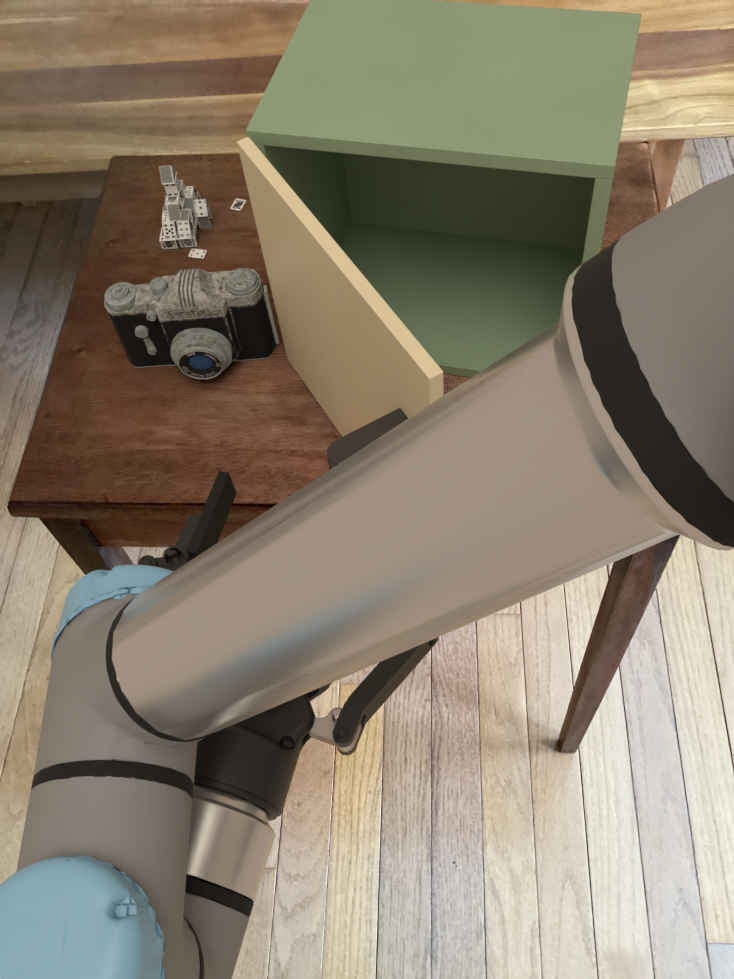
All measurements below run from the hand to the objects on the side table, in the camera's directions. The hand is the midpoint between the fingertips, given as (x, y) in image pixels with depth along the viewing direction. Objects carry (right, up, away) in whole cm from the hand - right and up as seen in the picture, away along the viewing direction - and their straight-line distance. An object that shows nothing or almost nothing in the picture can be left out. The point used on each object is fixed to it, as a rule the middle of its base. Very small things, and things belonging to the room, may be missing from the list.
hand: (319, 498), depth 64 cm
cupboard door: (0, +2, +16) cm, 16 cm away
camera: (-12, +13, +24) cm, 30 cm away
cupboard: (+11, +19, +26) cm, 34 cm away
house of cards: (-14, +28, +34) cm, 46 cm away
